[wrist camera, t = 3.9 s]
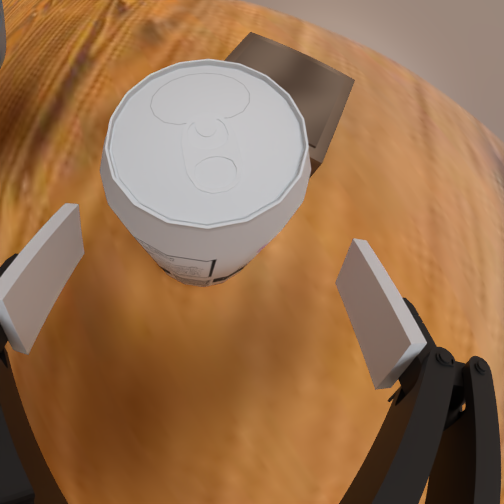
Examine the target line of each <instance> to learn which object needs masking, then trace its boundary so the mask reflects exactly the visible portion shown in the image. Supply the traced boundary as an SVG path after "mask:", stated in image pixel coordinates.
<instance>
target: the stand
mask: <svg viewBox="0 0 504 504" xmlns="http://www.w3.org/2000/svg"><path fill="white" fill-rule="evenodd" d="M224 61H227V62H234V63H240V64H242V65H245V66H247V67H249V68H252V69H254V70H256V71H258V72H261V73H263V74H265V75H267V76H268V77H270V78H271V79H272V80H273V81H274V82H276V83H277V84H278V85H279V86H280V87H282V88H283V89H284V90H285V91H286V92H287V93H288V94H290V96H291V98H292V99H293V101H294V103H295V104H296V106H297V108H298V109H299V111H300V113H301V114H302V116H303V118H304V121H305V126H306V132H307V139H308V145H309V148H308V150H309V157H310V164H311V173H310V177H311V176H312V175H313V173H314V172H315V171H316V170H317V169H318V167H319V166H320V165H321V164H322V162H323V159H324V157H325V155H326V152H327V150H328V147H329V145H330V142H331V140H332V137H333V135H334V132H335V130H336V127H337V125H338V122H339V120H340V117H341V115H342V112H343V110H344V107H345V104H346V102H347V99H348V97H349V94H350V91H351V89H352V86H353V84H354V81H355V80H354V79H352V78H350V77H348V76H347V75H345V74H343V73H341V72H339V71H337V70H335V69H334V68H332V67H330V66H328V65H326V64H324V63H322V62H320V61H318V60H316V59H314V58H312V57H309V56H307V55H305V54H303V53H301V52H299V51H296V50H294V49H292V48H290V47H287V46H285V45H283V44H280V43H278V42H275V41H273V40H270V39H268V38H265V37H263V36H260V35H258V34H255V33H252V32H250V33H249V34H248V35H247V36H246V37H245V38H244V39H243V40H242V42H241V43H240V44H239V45H238V46H237V47H236V48H235V49H234V50H233V51H232V53H231V54H230V55H229V56H228V57H227V58H226V59H225V60H224ZM310 177H309V178H310Z"/></svg>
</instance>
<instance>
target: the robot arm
mask: <svg viewBox="0 0 504 504" xmlns="http://www.w3.org/2000/svg"><path fill="white" fill-rule="evenodd" d="M5 53H6V30H5V20H4V12H3V5H2V0H0V68H1V66H2V64H3V62H4V58H5ZM83 255H84V247H83V240H82V232H81V223H80V214H79V204H70V203H65V204H64V205H63V206H62V207H61V208H60V209H59V210H58V211H57V212H56V213H55V214H54V215H53V216H52V217H51V218H50V219H49V220H48V222H47V223H46V224H45V225H44V226H43V227H42V228H41V229H40V230H39V231H38V232H37V234H36V235H35V236H34V237H33V238H32V239H31V240H30V242H29V243H28V244H27V245H26V246H25V247H24V249H23V250H22V251H21V252H20V253H19V254H14V255H13V256H11V257H10V258H8V259H7V260H6V261H5V262H4V263H3V265H2V266H1V267H0V504H68V502H67V501H66V499H65V497H64V496H63V494H62V492H61V490H60V489H59V487H58V485H57V483H56V481H55V479H54V477H53V476H52V474H51V472H50V470H49V468H48V466H47V464H46V461H45V459H44V457H43V455H42V453H41V451H40V449H39V446H38V444H37V442H36V439H35V437H34V434H33V432H32V430H31V427H30V424H29V422H28V419H27V416H26V414H25V411H24V408H23V405H22V402H21V399H20V396H19V393H18V390H17V387H16V383H15V380H14V376H13V373H12V369H11V365H10V361H9V357H8V353H7V351H6V349H5V345H6V343H7V341H9V343H10V344H11V346H12V348H13V350H15V351H18V352H21V353H24V354H27V355H29V352H30V350H31V348H32V346H33V344H34V342H35V340H36V338H37V336H38V334H39V332H40V330H41V328H42V326H43V324H44V322H45V320H46V318H47V316H48V314H49V312H50V311H51V309H52V307H53V305H54V303H55V301H56V300H57V298H58V296H59V294H60V293H61V291H62V289H63V287H64V286H65V284H66V282H67V281H68V279H69V277H70V276H71V274H72V272H73V271H74V269H75V267H76V266H77V264H78V263H79V261H80V259H81V258H82V256H83ZM335 283H336V286H337V288H338V291H339V293H340V296H341V298H342V301H343V303H344V306H345V308H346V311H347V313H348V316H349V318H350V321H351V324H352V326H353V329H354V331H355V334H356V337H357V339H358V342H359V345H360V348H361V350H362V353H363V356H364V359H365V361H366V364H367V367H368V370H369V373H370V376H371V378H372V381H373V384H374V387H375V389H384V388H391V387H392V386H393V385H394V383H395V382H396V381H397V380H398V379H399V381H400V384H401V386H400V387H399V389H398V390H397V391H396V392H395V393H394V394H393V395H392V396H391V397H390V398H389V400H388V402H390V401H391V400H392V399H393V402H392V404H391V406H390V409H389V411H388V413H387V415H386V418H385V420H384V422H383V424H382V426H381V429H380V431H379V433H378V435H377V437H376V439H375V441H374V443H373V445H372V447H371V449H370V451H369V453H368V455H367V457H366V459H365V460H364V462H363V464H362V466H361V468H360V470H359V471H358V473H357V475H356V477H355V478H354V480H353V482H352V483H351V485H350V487H349V489H348V490H347V492H346V493H345V495H344V497H343V498H342V500H341V501H340V503H339V504H418V503H419V501H420V498H421V496H422V493H423V491H424V488H425V485H426V483H427V480H428V477H429V482H428V489H427V495H426V501H425V504H500V492H501V451H500V434H499V423H498V413H497V405H496V398H495V391H494V385H493V379H492V374H491V370H490V367H489V365H488V364H487V362H486V361H485V360H484V359H482V358H480V357H478V356H473V357H471V358H470V360H469V361H468V362H467V363H466V364H465V363H461V362H457V361H455V359H454V357H453V356H452V354H451V353H450V352H449V351H447V350H446V349H444V348H442V347H436V345H435V343H434V341H433V339H432V337H431V336H430V334H429V332H428V330H427V328H426V327H425V325H424V323H422V322H423V321H422V319H421V318H420V316H418V315H419V314H418V313H417V311H416V309H415V307H414V306H413V305H412V304H411V303H410V302H409V301H408V300H407V299H406V298H402V297H401V295H400V293H399V292H398V290H397V288H396V287H395V285H394V283H393V282H392V280H391V278H390V277H389V275H388V273H387V272H386V270H385V269H384V267H383V265H382V264H381V262H380V261H379V259H378V258H377V256H376V254H375V253H374V251H373V250H372V248H371V247H370V245H369V244H368V242H367V241H366V240H360V239H354V238H353V240H352V243H351V245H350V248H349V250H348V253H347V255H346V258H345V260H344V263H343V265H342V268H341V270H340V273H339V275H338V277H337V280H336V282H335ZM464 403H465V404H466V407H465V410H464V411H462V405H463V404H464Z"/></svg>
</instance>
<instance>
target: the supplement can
mask: <svg viewBox="0 0 504 504" xmlns="http://www.w3.org/2000/svg"><path fill="white" fill-rule="evenodd" d="M308 148H309V145H308V139H307V132H306V126H305V121H304V118H303V116H302V114H301V113H300V111H299V109H298V108H297V106H296V104H295V103H294V101H293V99H292V98H291V96H290V94H288V93H287V92H286V91H285V90H284V89H283V88H282V87H280V86H279V85H278V84H277V83H276V82H274V81H273V80H272V79H271V78H270V77H268V76H267V75H265V74H263V73H261V72H258V71H256V70H254V69H252V68H249V67H247V66H245V65H242V64H240V63H234V62H227V61H221V60H213V59H204V60H195V61H187V62H179V63H176V64H174V65H171V66H168V67H166V68H163V69H161V70H159V71H156V72H154V73H152V74H149V75H148V76H147V77H146V78H144V79H143V80H142V81H141V82H139V83H138V84H137V85H136V86H134V87H133V88H132V89H131V90H129V91H128V92H127V93H126V94H125V96H124V97H123V99H122V100H121V102H120V104H119V105H118V107H117V108H116V110H115V111H114V113H113V115H112V116H111V118H110V122H109V127H108V132H107V136H106V138H105V142H104V147H103V153H102V160H101V167H100V174H101V178H102V182H103V186H104V190H105V194H106V198H107V202H108V205H109V206H110V207H111V208H112V210H113V211H114V212H115V214H116V215H117V216H118V217H119V219H120V220H121V221H122V223H123V224H124V225H125V226H126V228H127V229H128V230H129V231H130V233H131V234H132V235H133V236H134V237H135V239H136V240H137V241H138V242H139V243H140V244H141V245H142V247H143V248H144V249H145V250H146V251H147V252H148V253H149V254H150V256H151V257H152V258H153V259H154V260H155V261H156V262H157V263H158V265H159V266H160V267H161V268H162V269H163V270H164V271H165V272H166V273H167V274H168V275H169V276H171V277H173V278H174V279H176V280H178V281H180V282H182V283H183V284H187V285H194V286H201V287H206V286H211V285H215V284H220V283H223V282H225V281H226V280H228V279H230V278H231V277H233V276H234V275H236V274H237V273H239V272H240V271H241V270H242V269H243V268H244V267H245V266H246V265H247V264H248V263H249V262H250V261H251V260H252V259H253V258H254V257H255V256H256V255H257V254H258V253H259V252H260V251H261V250H262V249H263V248H264V247H265V246H266V245H267V244H268V243H269V242H270V241H271V240H272V239H273V238H274V237H275V236H276V235H277V234H278V233H279V232H280V231H281V230H282V229H283V228H284V226H285V225H286V224H287V222H288V221H289V220H290V218H291V217H292V216H293V214H294V213H295V212H296V210H297V209H298V208H299V206H300V205H301V204H302V202H303V200H304V197H305V193H306V189H307V185H308V181H309V177H310V173H311V164H310V157H309V150H308Z"/></svg>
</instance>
